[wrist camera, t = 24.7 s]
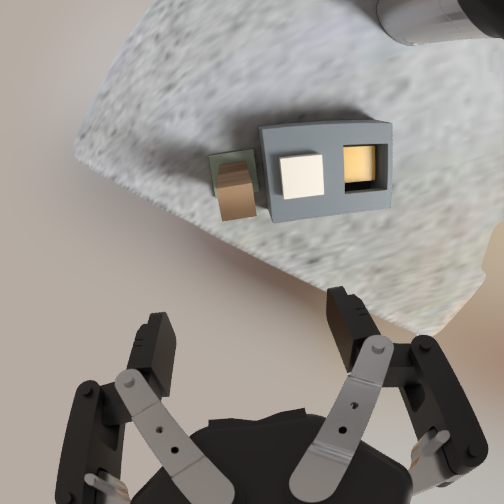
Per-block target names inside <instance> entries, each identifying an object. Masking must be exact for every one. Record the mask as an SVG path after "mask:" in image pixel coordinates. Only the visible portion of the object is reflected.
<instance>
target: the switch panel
mask: <svg viewBox="0 0 504 504" xmlns="http://www.w3.org/2000/svg"><path fill="white" fill-rule="evenodd" d="M258 131H259V139H260V147H261V155H262V163H263V171H264V179H265V188H266V196H267V205H268V211H269V213H270V216H271V219H272V222H273V223H280V222H287V221H294V220H301V219H308V218H316V217H323V216H331V215H338V214H346V213H354V212H362V211H370V210H379V209H387V208H391V196H392V170H393V132H392V123H389V122H384V121H379V120H329V121H310V122H296V123H285V124H275V125H266V126H258ZM356 144H371V145H374V146H375V180H372V181H370V189H365V190H355V191H346V192H345V178H344V149H343V145H356ZM316 153H320V154H322V162H323V181H324V195H316V196H308V197H300V198H292V199H284V198H283V195H282V184H281V174H280V165H279V157H286V156H295V155H305V154H316Z"/></svg>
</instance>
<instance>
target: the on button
mask: <svg viewBox="0 0 504 504" xmlns="http://www.w3.org/2000/svg"><path fill="white" fill-rule="evenodd" d="M279 165H280V174H281V184H282V195H283V198H284V199H292V198H300V197H308V196H316V195H324V181H323V162H322V154H320V153H316V154H305V155H295V156H286V157H279Z"/></svg>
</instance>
